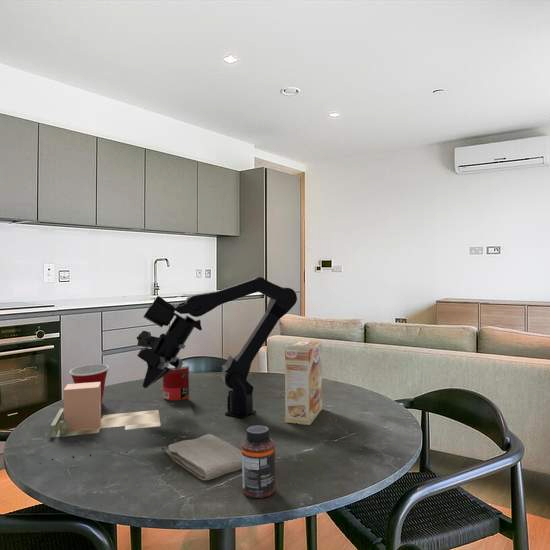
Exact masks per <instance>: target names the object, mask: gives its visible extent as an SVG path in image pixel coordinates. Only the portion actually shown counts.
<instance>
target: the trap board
mask: <svg viewBox="0 0 550 550" xmlns="http://www.w3.org/2000/svg"><path fill="white" fill-rule="evenodd" d="M116 427H117V428H119V427H121V428H122V427H124V430H125V431H129V430H136V429H147V428H155V427H161V419H160V412H159V409H152V410H144V411H142V410H141V411H135V412H134V411H133V412H121V413H111V414H110V413H109V414H103V415H102V416H101V422H100V426H99V427H98V428H88V429H78V430H68V431H67V421H64V407H63V408H62V407H60V408H59V410H58V412H57V414H56V416H55V417H54V419H53V421H52V422H51V423H50V438H53V439H54V438H59V437H60V438H62V437H71V436H80V435H90V434H99V433H100V430H101V429H109V428H110V429H111V428H116Z"/></svg>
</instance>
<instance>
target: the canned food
mask: <svg viewBox="0 0 550 550" xmlns="http://www.w3.org/2000/svg"><path fill="white" fill-rule="evenodd" d="M168 365H169V366H168V368H169V369H171V370H172V371H171V372H169V373H167V374H166V375H165V376H163V377H162V396H163V397H162V398H163V399H164V400H167V401H181V400H183V401H184V400H186V399H187V401H189V399H190V367H189V366H190V365H189V364H188V363H184V362H183V365H182V367H181V368H180V370H176V369H175V367H174V366H172V365H171V364H168Z"/></svg>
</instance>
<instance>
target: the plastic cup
mask: <svg viewBox="0 0 550 550" xmlns="http://www.w3.org/2000/svg"><path fill="white" fill-rule="evenodd" d="M109 368H110V365H108V364H103V363H92V364H84V365H80V366H76V367H73V368H72V369H70V370H69V374H70V375H71V377H72V382H73V384H77V383H90V382H101V405H102V403H103V396H104V390H105V384H106V378H107V373H108V370H109Z"/></svg>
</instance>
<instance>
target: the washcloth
mask: <svg viewBox="0 0 550 550" xmlns="http://www.w3.org/2000/svg"><path fill="white" fill-rule="evenodd" d="M166 453H167V455H168V456H169V458H171V459H172V461H174V462H176V463H177V464H178V465H180V466H181V467H182V468H183V469H185V470H187V471H188V472H190V473H192V474H193V475H194V476H195V477H197V478H198V479H200V480H202V481H211V480H213V479H216V478H220V477H221V476H224V475H226V474H230V473H233V472H234V473H235V472H237V471H239V470H242V449H239V448H238V447H236V446H234V445H232V444H231V443H229V442H227V441H226V440H222V438H219V437H218V436H216V435H214V434H210V433H209V434H204V435H201V436H200V437H197V438H194V439H185V440H181V441H177V442H173V443H171V444H169V445H168V449H166Z"/></svg>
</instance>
